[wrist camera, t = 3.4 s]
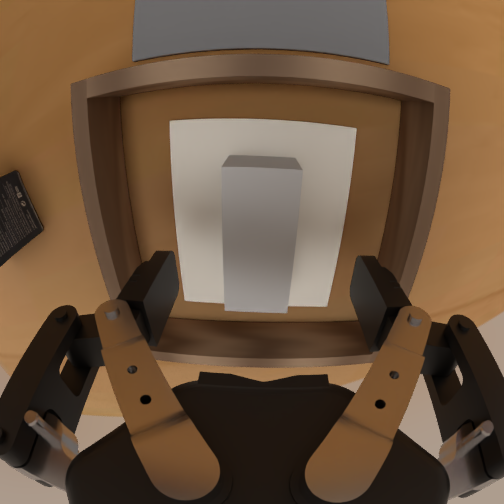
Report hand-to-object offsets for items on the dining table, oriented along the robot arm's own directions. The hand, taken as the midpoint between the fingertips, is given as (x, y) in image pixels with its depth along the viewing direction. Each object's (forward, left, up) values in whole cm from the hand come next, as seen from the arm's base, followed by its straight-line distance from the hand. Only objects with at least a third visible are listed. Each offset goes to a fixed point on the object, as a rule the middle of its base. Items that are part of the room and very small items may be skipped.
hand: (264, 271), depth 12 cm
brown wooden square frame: (0, 0, -5) cm, 5 cm away
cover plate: (0, 0, -6) cm, 6 cm away
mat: (0, +17, -5) cm, 17 cm away
